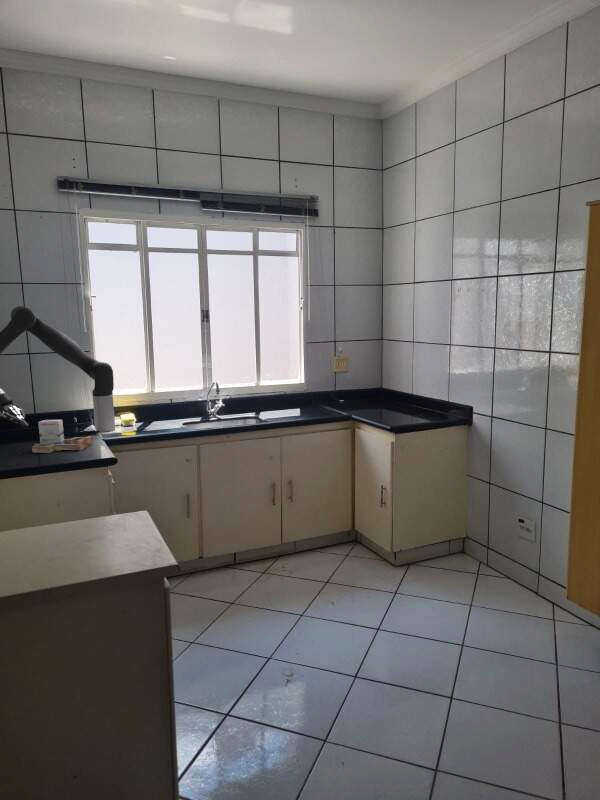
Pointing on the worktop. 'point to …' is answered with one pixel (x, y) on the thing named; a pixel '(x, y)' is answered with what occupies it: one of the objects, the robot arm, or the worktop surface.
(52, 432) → the ink box
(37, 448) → the trap lane
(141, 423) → the worktop surface
